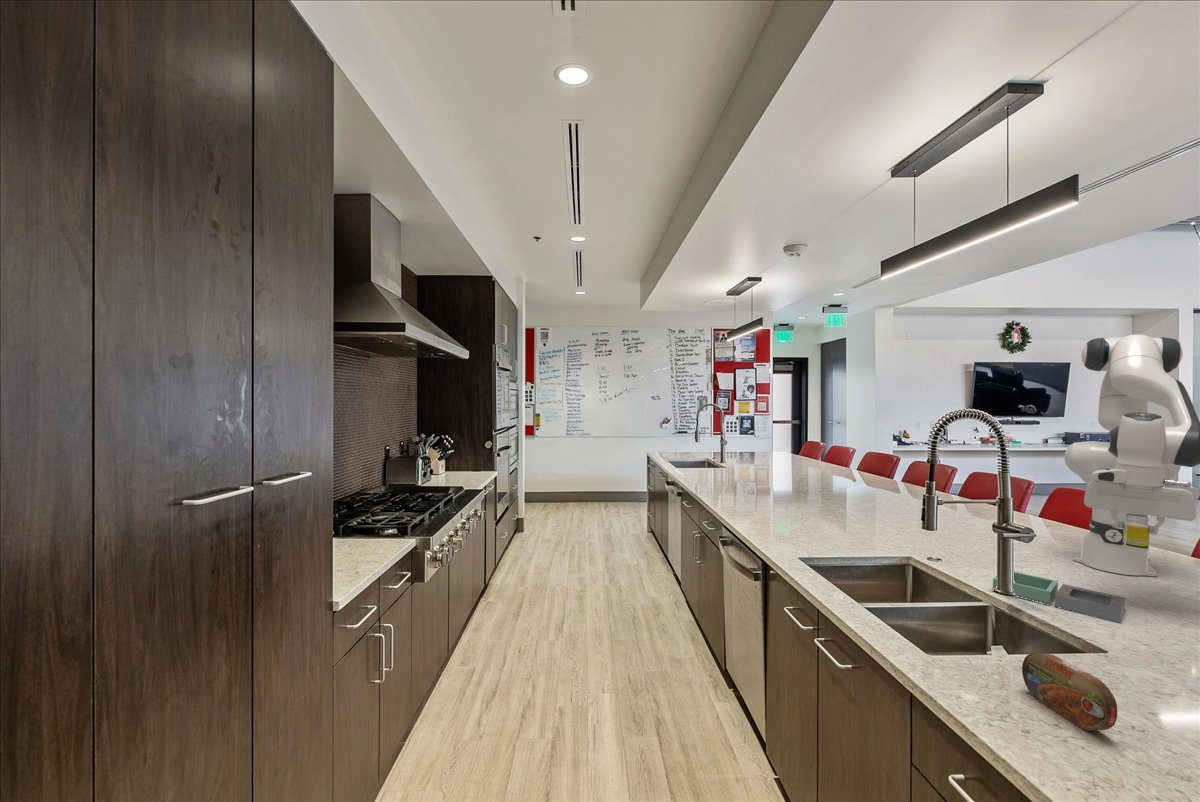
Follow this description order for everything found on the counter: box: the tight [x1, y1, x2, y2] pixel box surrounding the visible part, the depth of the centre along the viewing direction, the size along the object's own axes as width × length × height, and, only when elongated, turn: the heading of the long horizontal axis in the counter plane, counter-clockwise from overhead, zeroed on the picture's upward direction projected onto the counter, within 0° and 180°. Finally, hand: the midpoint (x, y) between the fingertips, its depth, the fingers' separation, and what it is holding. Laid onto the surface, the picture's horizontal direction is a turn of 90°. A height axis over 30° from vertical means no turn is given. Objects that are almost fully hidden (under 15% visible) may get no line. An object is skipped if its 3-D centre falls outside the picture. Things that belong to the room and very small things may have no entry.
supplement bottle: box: [1123, 514, 1151, 550], centre depth 138 cm, size 5×5×8 cm
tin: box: [1021, 652, 1118, 732], centre depth 92 cm, size 15×3×8 cm, turn 5°
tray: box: [992, 571, 1059, 606], centre depth 146 cm, size 12×12×4 cm
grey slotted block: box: [1054, 583, 1126, 624], centre depth 137 cm, size 12×12×3 cm
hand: (1136, 531), depth 138 cm, fingers closed on supplement bottle, 5 cm apart
